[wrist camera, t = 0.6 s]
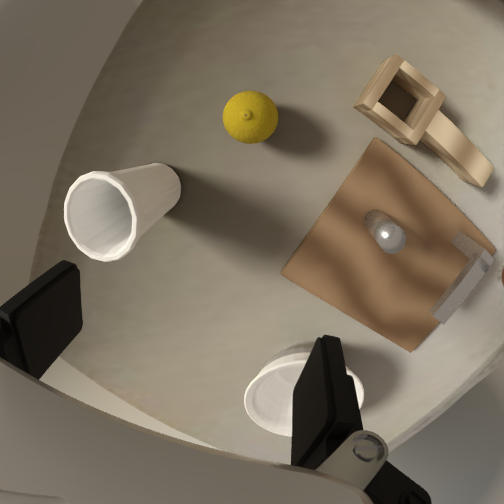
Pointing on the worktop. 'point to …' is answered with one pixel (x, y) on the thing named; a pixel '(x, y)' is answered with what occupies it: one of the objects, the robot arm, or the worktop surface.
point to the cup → (118, 208)
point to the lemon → (250, 117)
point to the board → (375, 258)
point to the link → (423, 120)
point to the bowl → (282, 388)
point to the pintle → (385, 231)
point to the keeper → (463, 277)
